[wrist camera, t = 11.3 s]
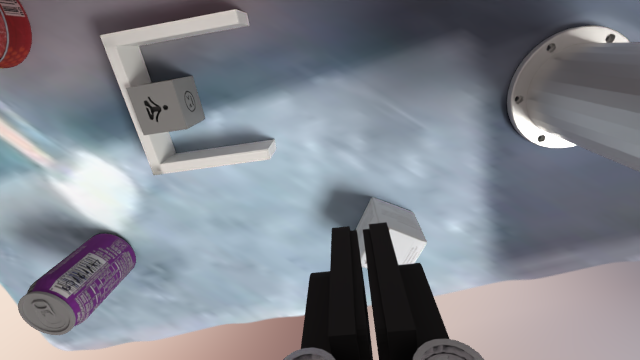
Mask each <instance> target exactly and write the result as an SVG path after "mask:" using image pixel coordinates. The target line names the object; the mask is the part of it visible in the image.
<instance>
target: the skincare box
mask: <svg viewBox="0 0 640 360" xmlns="http://www.w3.org/2000/svg"><path fill="white" fill-rule="evenodd" d="M384 222H387V225H388V229H389V232H390V236H391V240H392V243H393V247H394V251H395V254H396V258H397V262H398V265H403V264H413V263H415V262H416V260H417V258H418V257H419V255H420V254H421V252H422V250H423V249H424V247H425V246H426V244H427V241H426V239H425V237H424V234H423V232H422V230H421V228H420V225H419V223H418V221H417V219H416V217H415V214H414V213H413V212H412V211H409V210H406V209H404V208H401V207H398V206H396V205H393V204H390V203H388V202H385V201H382V200H380V199H377V198H374V197H372V198H371V199H370V201H369V203H368V205H367V207H366V209H365V211H364V213H363V215H362V217H361V219H360V222H359V224H358V226H357V228H356V230H357V235H358V242H359V249H360V257H361V264H362V267H364V268H367V261H366V253H365V245H364V237H363V229H369V224H375V223H384Z"/></svg>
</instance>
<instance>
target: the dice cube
mask: <svg viewBox="0 0 640 360" xmlns="http://www.w3.org/2000/svg"><path fill="white" fill-rule="evenodd" d="M126 90H127V92H128V95H129V98H130V100H131V103H132V106H133V108H134V111H135V114H136V116H137V119H138V122H139V124H140V127H141V129H142V132H143V135H150V134H157V133H163V132H170V131H177V130H183V129H188V128H190V127H192V126H194V125H195V124H197V123H199V122H201V121H203V120H204V119H205V116H204V112H203V109H202V106H201V102H200V99H199V96H198V92H197V89H196V86H195V82H194V79H193V76H189V77H183V78H177V79H171V80H165V81H159V82H154V83H148V84H143V85H138V86H133V87H128V88H126Z"/></svg>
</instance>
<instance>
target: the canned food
mask: <svg viewBox="0 0 640 360" xmlns="http://www.w3.org/2000/svg"><path fill="white" fill-rule="evenodd" d="M31 44H32V32H31V26H30V23H29V20H28V17H27V14H26V12H25V10H24V8H23V6H22V5H21V3H20V2H19V0H0V68H10V67H14V66H17V65H18V64H20V63H22V62H23V61H24V59H25V58H26V57H27V55H28V53H29V52H30V48H31Z"/></svg>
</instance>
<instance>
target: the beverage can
mask: <svg viewBox="0 0 640 360" xmlns="http://www.w3.org/2000/svg"><path fill="white" fill-rule="evenodd" d="M135 263H136V256H135V253H134V251H133V249H132V248H131V246H130V245H129V244H128V243H127V242H126V241H124V240H123V239H121V238H120V237H118V236H115V235H112V234H97V235H95V236H93V237H92V238H90V239H89V240H88V241H87V242H85V243H84V244H83V245H81V246H80V247H79V248H78V249H76V250H75V251H74V252H72V253H71V254H70V255H69V256H67V257H66V258H65V259H63V260H62V261H61V262H60V263H58V264H57V265H56V266H55V267H53V268H52V269H51V270H49V271H48V272H47V273H46V274H44V275H43V276H42V277H40V278H39V279H38V280H37V281H35V282H34V283H33V284H32V285H31V286H30V288H29V290H28V292H27V294H26V295H25V296H23V297H22V298H21V299H20V301H19V303H18V310H19V313H20V315H21V316H22V318H23V319H24V320H25V321H26V322H27V323H28V324H29V325H30V326H31V327H33V328H35V329H36V330H38V331H41V332H43V333H46V334H51V335H61V334H65V333H67V332H69V331H70V330H71V329H72V328H73V327H74V326H76V325H78V324H80V323H82V322H83V321H85V320H86V319H87V318H88V317H89V316H90V315H91V313H92V312H93V311H94V310H95V309H96V308H97V307H98V306H99V305H100V304H101V303H102V302H103V300H104V299H105V298H106V297H107V296H108V295H109V294H110V293H111V292H112V291H113V290H114V289H115V287H116V286H117V285H118V284H119V283H120V282H121V281H122V280H123V279H124V278H125V277H126V276H127V274H128V273H129V272H130V271H131V270H132V269H133V268H134V266H135Z"/></svg>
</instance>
